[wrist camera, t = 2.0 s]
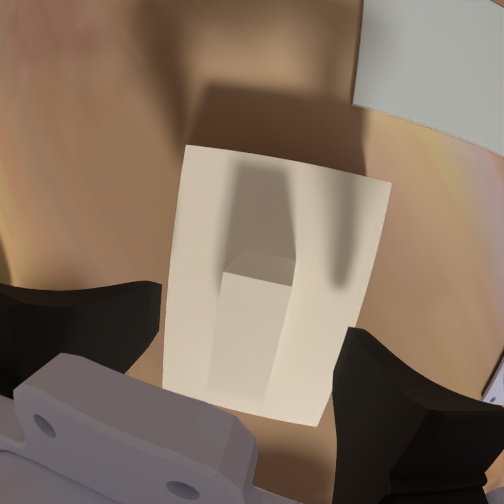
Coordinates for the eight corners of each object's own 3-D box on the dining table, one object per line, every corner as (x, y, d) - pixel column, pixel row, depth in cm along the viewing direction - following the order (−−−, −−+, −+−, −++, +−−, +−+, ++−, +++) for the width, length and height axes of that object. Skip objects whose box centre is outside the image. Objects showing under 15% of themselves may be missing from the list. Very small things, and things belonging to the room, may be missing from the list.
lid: (384, 182, 13) (419, 185, 8) (317, 411, 16) (315, 473, 11) (196, 147, 14) (148, 135, 9) (171, 376, 17) (135, 426, 13)
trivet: (514, 18, 10) (517, 16, 10) (518, 164, 13) (522, 164, 13) (365, -42, 12) (366, -46, 11) (351, 105, 14) (352, 103, 14)
